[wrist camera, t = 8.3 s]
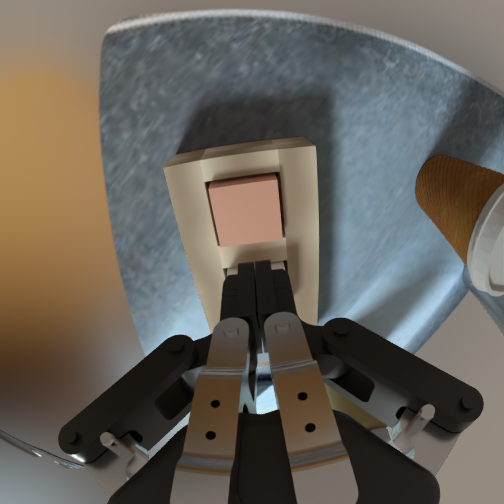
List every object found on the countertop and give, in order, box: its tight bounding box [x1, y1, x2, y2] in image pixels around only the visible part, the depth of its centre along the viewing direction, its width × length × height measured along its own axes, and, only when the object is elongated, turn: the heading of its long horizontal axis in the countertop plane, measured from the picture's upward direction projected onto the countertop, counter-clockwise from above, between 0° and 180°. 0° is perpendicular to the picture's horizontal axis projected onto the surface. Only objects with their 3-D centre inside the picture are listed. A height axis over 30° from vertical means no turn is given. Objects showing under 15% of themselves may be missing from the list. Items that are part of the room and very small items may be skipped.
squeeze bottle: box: [324, 383, 390, 443], centre depth 28 cm, size 8×8×18 cm
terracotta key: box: [208, 172, 283, 248], centre depth 20 cm, size 4×4×3 cm
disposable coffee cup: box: [415, 155, 504, 296], centre depth 18 cm, size 10×10×12 cm
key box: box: [163, 137, 319, 367], centre depth 25 cm, size 10×22×4 cm, turn 7°
